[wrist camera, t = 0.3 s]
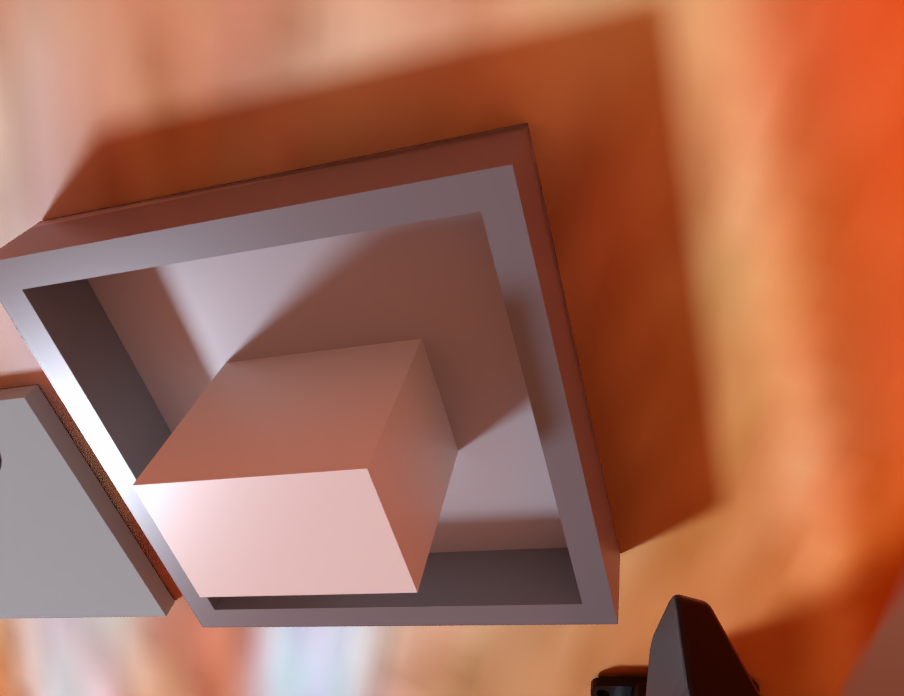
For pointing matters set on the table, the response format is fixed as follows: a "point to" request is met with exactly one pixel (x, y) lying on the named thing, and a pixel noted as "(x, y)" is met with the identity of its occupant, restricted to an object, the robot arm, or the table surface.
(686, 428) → the table surface
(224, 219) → the grey square tray
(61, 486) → the mat
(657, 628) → the robot arm
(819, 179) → the table surface
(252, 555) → the block
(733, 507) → the table surface
